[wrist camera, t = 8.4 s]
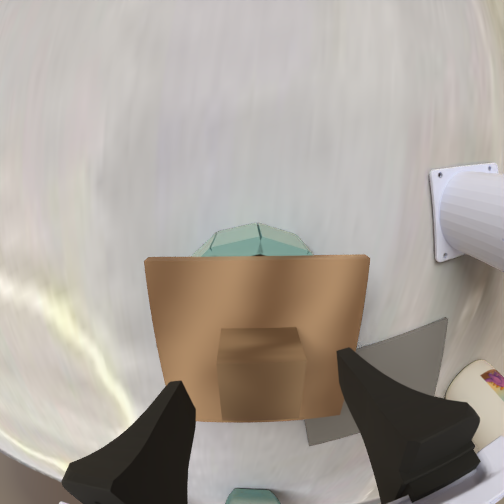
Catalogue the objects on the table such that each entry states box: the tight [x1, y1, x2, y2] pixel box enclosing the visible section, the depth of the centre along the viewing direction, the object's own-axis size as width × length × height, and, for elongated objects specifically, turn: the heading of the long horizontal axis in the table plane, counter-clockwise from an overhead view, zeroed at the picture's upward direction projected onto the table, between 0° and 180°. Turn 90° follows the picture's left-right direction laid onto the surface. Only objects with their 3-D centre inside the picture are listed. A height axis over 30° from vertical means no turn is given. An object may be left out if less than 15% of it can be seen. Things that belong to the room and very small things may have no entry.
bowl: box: [191, 223, 314, 257], centre depth 20 cm, size 11×11×4 cm
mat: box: [305, 317, 448, 446], centre depth 25 cm, size 16×13×1 cm
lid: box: [144, 255, 370, 422], centre depth 16 cm, size 13×13×4 cm
